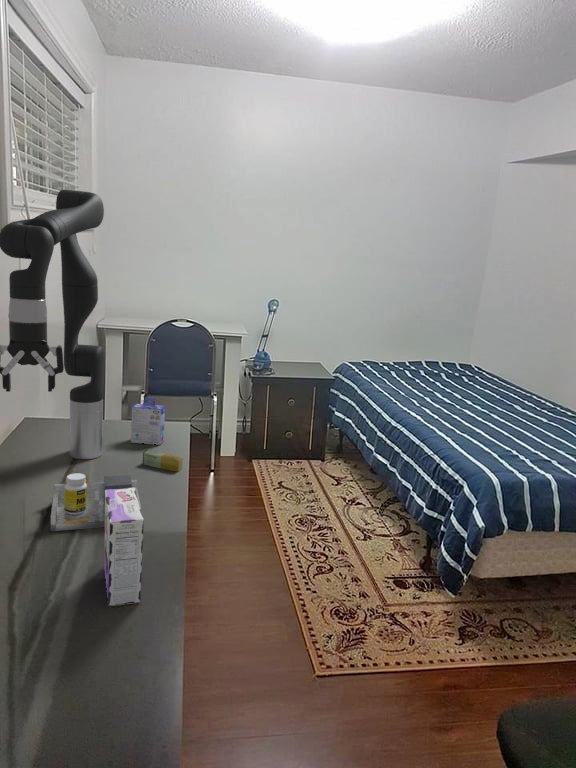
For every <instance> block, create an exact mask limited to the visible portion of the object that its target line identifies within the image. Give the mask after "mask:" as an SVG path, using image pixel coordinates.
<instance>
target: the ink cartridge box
mask: <svg viewBox="0 0 576 768" xmlns="http://www.w3.org/2000/svg"><path fill="white" fill-rule="evenodd" d="M147 401H152V402H147ZM165 414H166V406H165V405H158V404H156V398H151V397H144V401H143V403H135V404H134V405H133V406H132V407H131V424H130V425H131V427H130V443H131V444H132V443H133V444H142V443H144V444H145V445H154V444H156V445H155V446H161V445H162V443H163V442H165V419H166V417H165V416H166V415H165ZM144 444H143V445H144Z"/></svg>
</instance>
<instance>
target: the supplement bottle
mask: <svg viewBox="0 0 576 768" xmlns="http://www.w3.org/2000/svg"><path fill="white" fill-rule="evenodd" d="M86 478H87V477H86V475H85V474H84V473H78V472H77V473H76V472H75V473H70V474H67V476H66V479H67V484H66V483H65V484H66V485H65V497H64V511H65V513H67V514H71V515H78V514H81V513H83V512H85V511H86V498H87V484H86V483H85V481H86Z"/></svg>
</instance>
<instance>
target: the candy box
mask: <svg viewBox="0 0 576 768" xmlns="http://www.w3.org/2000/svg"><path fill="white" fill-rule="evenodd" d="M140 505H141V504H140ZM140 505H139V501H138V498H137V494H136V490H135V487H134V488H121V489H109V490H105V527H104V549H103V550H104V556H103V557H104V558H103V559H104V562H103V564H104V565H103V569H104V570H103V571H105V572H104V580H105V579H106V581H105V589H106V588H107V590H106V598H108V601H107V607H108V606H109V605H115V604H127V603H134V602H140V601H141V599H142V598H141V597H142V595H141V593H142V575H143V574H142V573H143V571H142V570H143V549H144V548H143V547H144V546H143V545H144V521H145V519H144V517H143V512H142V508H141V509H140ZM141 602H142V601H141ZM141 602H140V603H141Z"/></svg>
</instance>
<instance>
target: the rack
mask: <svg viewBox="0 0 576 768" xmlns="http://www.w3.org/2000/svg"><path fill="white" fill-rule="evenodd" d="M85 478H86V481H85V483H86V484H87V498H86V511H85V512H83V513H81V514H78V515H71V514H67V513H65V511H64V497H65V485H66V484H67V478H65V483H55V484H53V497H52V504H51V512H50V532H57V531H58V532H59V531H70V530H71V531H72V530H84V529H85V530H86V529H97V528H105V490H109V489H121V488H134V487H135V490H136V494H137V498H138V501H139V505H140V509H141V510H142V505H141V501H140V496H139V490H138V480H137V479H131V478H132V477H131V474H130V475H129V474H123V475H109V476H108V475H107V476H105V475H104V476H103V481H94V482H93V481H91V482H89V478H88V477H85Z"/></svg>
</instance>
